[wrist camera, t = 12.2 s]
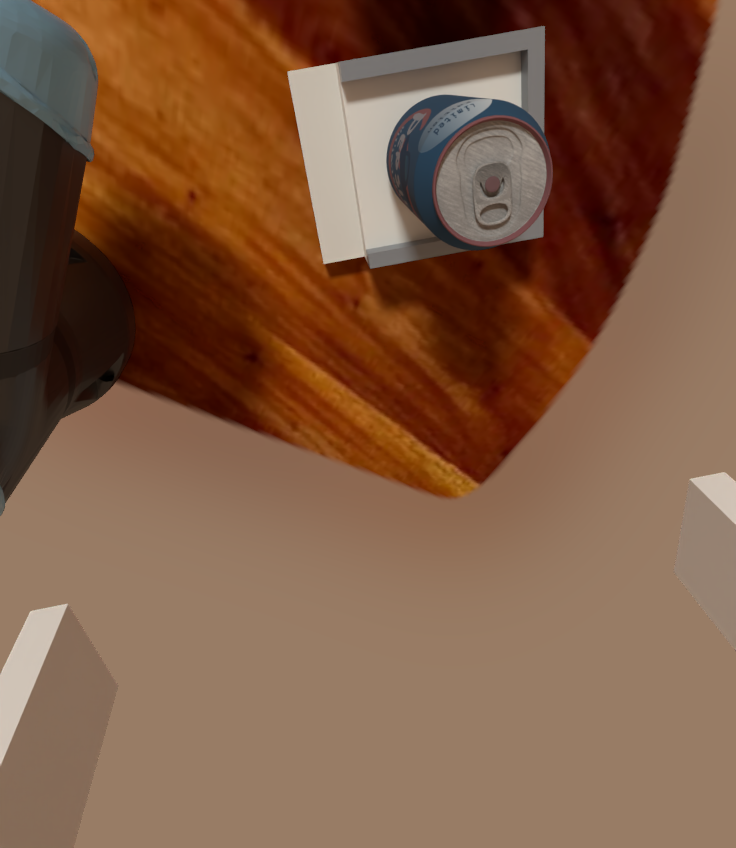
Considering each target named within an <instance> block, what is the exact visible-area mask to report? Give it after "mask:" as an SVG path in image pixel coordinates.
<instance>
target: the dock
mask: <svg viewBox="0 0 736 848" xmlns="http://www.w3.org/2000/svg"><path fill="white" fill-rule="evenodd" d="M544 67H545V26H542V27H536V28H530V29H524V30H519V31H513V32H507V33H501V34H496V35H490V36H484V37H479V38H473V39H467V40H461V41H456V42H450V43H444V44H439V45H433V46H427V47H421V48H416V49H410V50H404V51H399V52H393V53H387V54H381V55H376V56H370V57H364V58H359V59H353V60H347V61H341V62H338V63H334V64H328V65H323V66H317V67H311V68H305V69H300V70H294V71H288V72H287V73H288V79H289V84H290V89H291V94H292V100H293V105H294V110H295V116H296V121H297V126H298V131H299V137H300V142H301V147H302V152H303V158H304V163H305V168H306V173H307V179H308V184H309V189H310V194H311V200H312V205H313V210H314V215H315V221H316V226H317V231H318V237H319V242H320V247H321V252H322V258H323V263H324V264H327V263H332V262H338V261H343V260H349V259H354V258H359V257H365V258H366V261H367V263H368V265H369V267H370V269H372V268H377V267H383V266H388V265H393V264H399V263H404V262H410V261H415V260H420V259H426V258H431V257H437V256H442V255H448V254H453V253H458V252H464V251H469V250H464V249H459V248H456V247H453V246H451V245H448V244H447V243H445V242H443V241H442V240H440V239H439V238H437V237H436V236H435V235H434V234H433V233H432V232H431V231H430V230H429V229H428V228H427V227H426V226H425V225H424V224H423V223H422V222H421V221H420V220H419V219H418V218H417V217H416V216H415V215H414V214H413V213H412V211H411V210H410V209H409V208H408V207H407V206H406V205H405V204H404V203H403V202H402V201H401V200H400V199H399V198H398V196H397V195H396V193H395V192H394V190H393V188H392V186H391V183H390V180H389V177H388V172H387V164H386V157H387V148H388V144H389V140H390V137H391V134H392V132H393V130H394V128H395V126H396V124H397V123H398V121H399V120H400V118H401V117H402V116H403V115H404V114H405V113H406V112H407V111H408V110H409V109H410V108H411V107H412V106H414V105H415V104H417V103H418V102H420V101H422V100H424V99H426V98H429V97H432V96H436V95H457V96H467V97H477V98H487V99H497V100H503V101H507V102H510V103H513V104H515V105H517V106H519V107H521V108H522V109H524V110H525V111H526V112H527V113H529V114H530V115H531V116H532V117H533V118H534V119H535V121H536V122H537V123H538V125H539V126H540V128H541V129H542V131H543V133H544ZM539 237H543V211H542V212H541V214H540V215H539V217H538V218H537V220H536V221H535V222H534V223H533V224H532V225H531V226H530V227H529V228H528V229H527V230H526V231H525V232H524V233H523V234H521V235H520V236H518V237H517V238H515V239H513V240H511V241H509V242H507V243H512V242H518V241H523V240H529V239H534V238H539ZM507 243H504V244H507ZM501 245H502V244H501Z"/></svg>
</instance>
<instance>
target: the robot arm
mask: <svg viewBox="0 0 736 848" xmlns="http://www.w3.org/2000/svg"><path fill="white" fill-rule="evenodd" d="M97 89H98V75H97V68H96V63H95V61H94V58H93V56H92V54H91V52H90V50H89V48H88V46H87V44H86V43H85V41H84V40H83V39H82V37H81V36H80V35H79V34H78V33H77V32H76V31H75V30H74V29H73V28H72V27H71V26H70V25H68V24H67V23H66V22H64V21H63V20H61V19H60V18H58V17H57V16H55V15H54V14H52V13H50V12H49V11H47V10H46V9H44V8H42V7H41V6H39V5H37V4H36V3H34V2H32V1H31V0H0V516H1V515H2V513H3V511H4V508H5V503H6V501H7V500H8V498H9V497H10V495H11V494H12V492H13V491H14V489H15V488H16V486H17V485H18V483H19V482H20V480H21V479H22V477H23V476H24V474H25V473H26V471H27V470H28V468H29V466H30V465H31V463H32V462H33V460H34V459H35V457H36V456H37V454H38V453H39V451H40V450H41V448H42V447H43V445H44V444H45V442H46V441H47V439H48V438H49V436H50V434H51V433H52V431H53V430H54V428H55V427H56V425H57V424H58V422H59V420H60V419H61V418H64V417H66V416H68V415H70V414H72V413H74V412H76V411H78V410H81V409H83V408H85V407H87V406H89V405H90V404H92V403H94V402H95V401H97V400H98V399H99V398H100V397H102V396H103V395H104V394H105V393H106V392H107V391H108V390H109V389H110V388H111V387H112V386H113V385H114V384H115V382H116V381H117V379H118V378H119V376H120V374H121V373H122V371H123V369H124V367H125V366H126V364H127V362H128V360H129V358H130V355H131V352H132V349H133V345H134V339H135V317H134V311H133V307H132V303H131V300H130V297H129V294H128V291H127V289H126V287H125V285H124V283H123V281H122V279H121V277H120V276H119V274H118V272H117V271H116V270H115V268H114V267H113V265H112V264H111V263H110V261H109V260H108V259H107V258H106V257H105V256H104V254H103V253H102V252H101V251H100V250H99V249H98V248H97V247H96V246H95V245H93V244H92V243H91V242H90V241H89V240H88V239H86V238H85V237H84V236H83V235H81V234H80V233H78V232H77V231H75V230H74V227H75V221H76V215H77V210H78V204H79V199H80V193H81V187H82V182H83V176H84V171H85V165H86V161H88V162H91V161H93V158H94V150H93V148H92V146H91V144H90V141H91V133H92V126H93V119H94V111H95V104H96V96H97ZM674 573H675V575H676V576H677V577H678V579H679V580H680V581H681V582H682V584H683V585H684V586H685V587H686V589H687V590H688V591H689V592H690V594H691V595H692V596H693V597H694V599H695V600H696V601H697V603H698V604H699V605H700V606H701V608H702V609H703V610H704V611H705V613H706V614H707V615H708V616H709V618H710V619H711V620H712V622H713V623H714V624H715V625H716V627H717V628H718V629H719V630H720V632H721V633H722V634H723V636H724V637H725V638H726V639H727V641H728V642H729V643H730V644H731V646H732V647H733V648H734V650H735V651H736V482H735V481H734V480H733V479H732V478H731V477H730V476H729V475H727V474H726V473H725V472H723V473H717V474H713V475H708V476H702V477H697V478H692V479H690V480H689V485H688V491H687V497H686V502H685V508H684V514H683V520H682V527H681V532H680V538H679V544H678V549H677V555H676V561H675V567H674ZM117 689H118V685H117V683H116V681H115V680H114V678H113V677H112V675H111V673H110V671H109V670H108V668H107V667H106V665H105V664H104V662H103V660H102V658H101V657H100V655H99V654H98V652H97V650H96V649H95V647H94V645H93V644H92V642H91V641H90V639H89V637H88V636H87V634H86V632H85V631H84V629H83V627H82V626H81V624H80V623H79V621H78V619H77V618H76V616H75V615H74V613H73V611H72V609H71V608H70V606H69V605H68V604H64V605H59V606H54V607H49V608H44V609H39V610H34V611H31V612H30V614H29V616H28V618H27V620H26V622H25V624H24V626H23V628H22V630H21V632H20V634H19V636H18V639H17V641H16V643H15V645H14V647H13V649H12V651H11V653H10V655H9V657H8V659H7V661H6V664H5V666H4V668H3V670H2V672H1V674H0V848H74V844H75V841H76V837H77V834H78V830H79V826H80V823H81V819H82V815H83V812H84V808H85V804H86V801H87V797H88V794H89V790H90V786H91V783H92V779H93V776H94V772H95V768H96V765H97V761H98V757H99V754H100V750H101V747H102V743H103V739H104V736H105V732H106V729H107V725H108V721H109V717H110V714H111V710H112V707H113V703H114V700H115V696H116V692H117Z"/></svg>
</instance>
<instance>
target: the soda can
mask: <svg viewBox="0 0 736 848" xmlns="http://www.w3.org/2000/svg"><path fill="white" fill-rule="evenodd" d="M386 164H387V172H388V177H389V180H390V183H391V186H392V188H393V190H394V192H395V193H396V195H397V196H398V198H399V199H400V200H401V201H402V202H403V203H404V204H405V205H406V206H407V207H408V208H409V209H410V210H411V211H412V213H413V214H414V215H415V216H416V217H417V218H418V219H419V220H420V221H421V222H422V223H423V224H424V225H425V226H426V227H427V228H428V229H429V230H430V231H431V232H432V233H433V234H434V235H435V236H436V237H437V238H439V239H440V240H442V241H443V242H445V243H447V244H448V245H451V246H453V247H456V248H459V249H464V250H484V249H489V248H493V247H496V246H499V245H501V244H504V243H507V242H509V241H511V240H513V239H515V238H517V237H518V236H520V235H521V234H523V233H524V232H525V231H526V230H527V229H528V228H529V227H530V226H531V225H532V224H533V223H534V222H535V221H536V220H537V218H538V217H539V215H540V214H541V212H542V211H543V209H544V207H545V205H546V202H547V200H548V197H549V194H550V190H551V186H552V178H553V168H552V160H551V156H550V151H549V147H548V143H547V140H546V137H545V135H544V133H543V131H542V129H541V128H540V126H539V125H538V123H537V122H536V121H535V119H534V118H533V117H532V116H531V115H530V114H529V113H527V112H526V111H525V110H524V109H522V108H521V107H519V106H517V105H515V104H513V103H510V102H507V101H503V100H497V99H487V98H477V97H467V96H457V95H436V96H432V97H429V98H426V99H424V100H422V101H420V102H418V103H417V104H415V105H414V106H412V107H411V108H410V109H409V110H408V111H407V112H406V113H405V114H404V115H403V116H402V117H401V118H400V120H399V121H398V123H397V124H396V126H395V128H394V130H393V132H392V134H391V137H390V140H389V144H388V148H387V157H386Z"/></svg>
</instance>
